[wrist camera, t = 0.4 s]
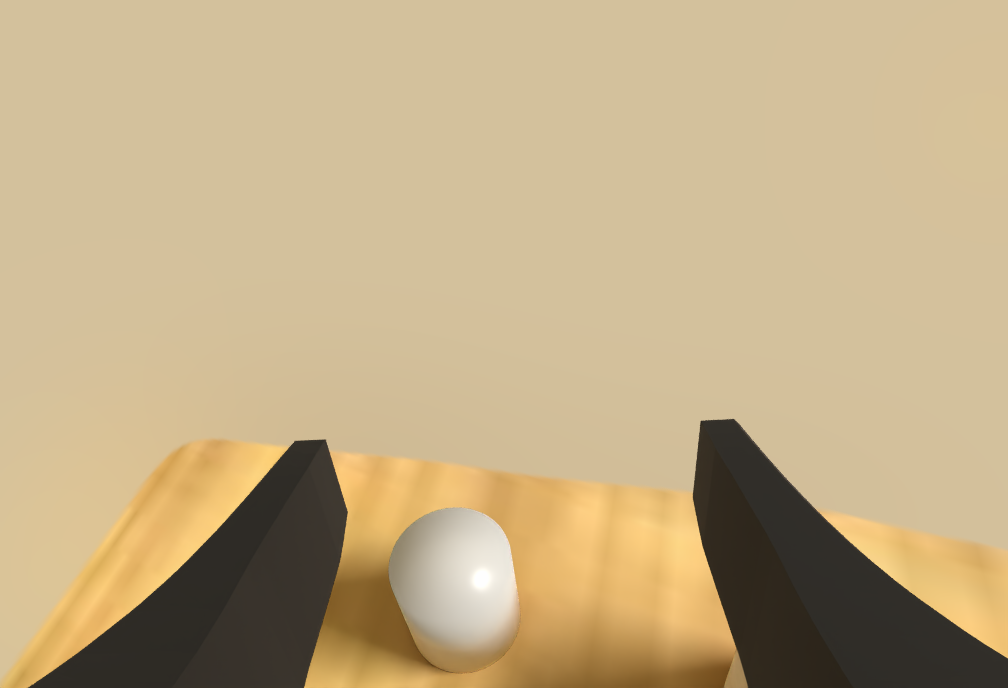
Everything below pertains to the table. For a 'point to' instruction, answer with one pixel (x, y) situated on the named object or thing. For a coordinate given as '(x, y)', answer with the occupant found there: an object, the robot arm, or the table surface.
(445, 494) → the table surface
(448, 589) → the grey cylinder
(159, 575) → the table surface
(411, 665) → the table surface
